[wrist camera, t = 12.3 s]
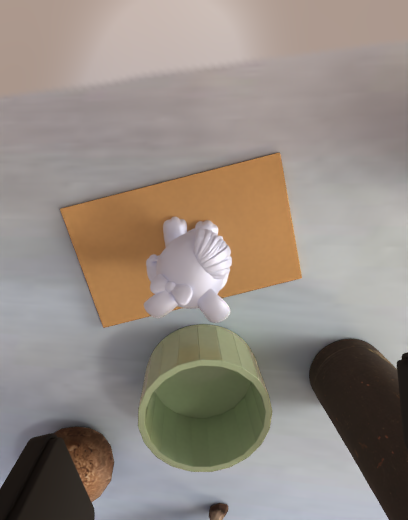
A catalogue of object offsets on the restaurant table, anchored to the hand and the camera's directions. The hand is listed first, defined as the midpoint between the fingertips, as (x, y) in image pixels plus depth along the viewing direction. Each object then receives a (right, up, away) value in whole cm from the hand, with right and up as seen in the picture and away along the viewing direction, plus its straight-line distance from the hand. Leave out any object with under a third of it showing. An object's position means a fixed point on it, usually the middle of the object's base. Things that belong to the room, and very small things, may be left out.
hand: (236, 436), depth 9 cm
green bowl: (-1, -7, +26) cm, 27 cm away
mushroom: (-14, -16, +28) cm, 35 cm away
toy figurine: (-2, +6, +22) cm, 23 cm away
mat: (-3, +6, +22) cm, 23 cm away
